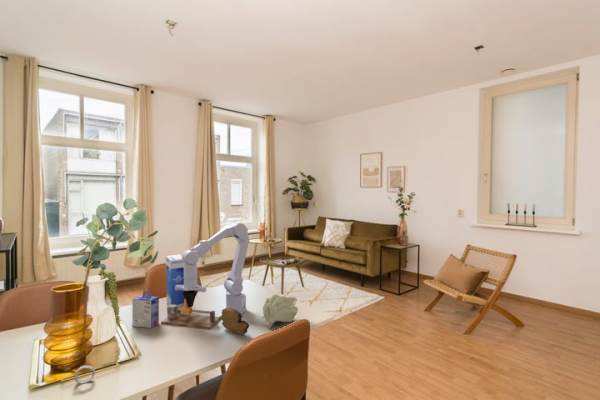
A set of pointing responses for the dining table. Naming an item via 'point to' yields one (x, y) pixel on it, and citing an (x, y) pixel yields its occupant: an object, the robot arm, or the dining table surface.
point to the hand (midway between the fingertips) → (190, 306)
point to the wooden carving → (234, 321)
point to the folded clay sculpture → (279, 309)
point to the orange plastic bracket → (186, 309)
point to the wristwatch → (85, 380)
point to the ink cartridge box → (145, 311)
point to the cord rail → (190, 318)
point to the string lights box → (174, 280)
